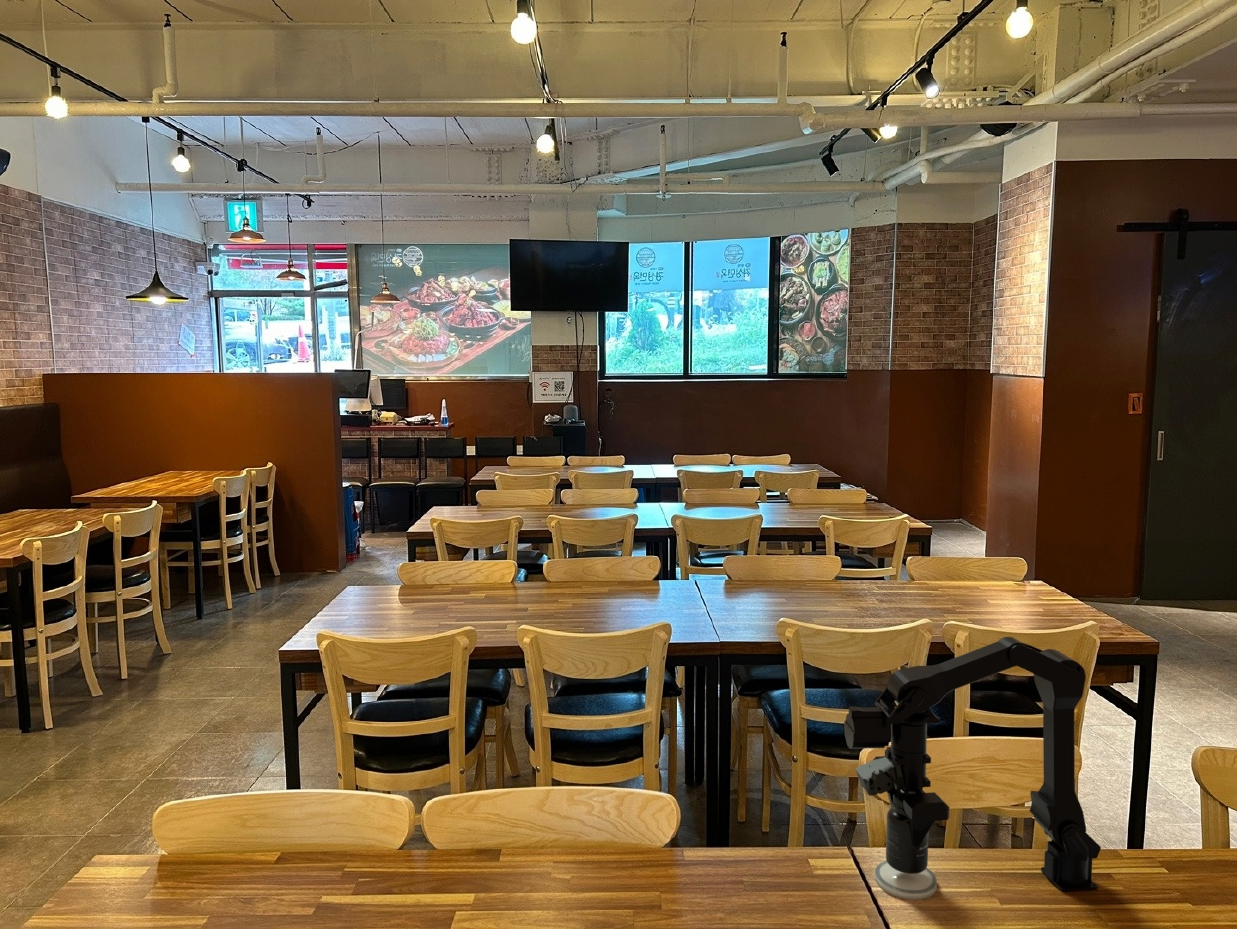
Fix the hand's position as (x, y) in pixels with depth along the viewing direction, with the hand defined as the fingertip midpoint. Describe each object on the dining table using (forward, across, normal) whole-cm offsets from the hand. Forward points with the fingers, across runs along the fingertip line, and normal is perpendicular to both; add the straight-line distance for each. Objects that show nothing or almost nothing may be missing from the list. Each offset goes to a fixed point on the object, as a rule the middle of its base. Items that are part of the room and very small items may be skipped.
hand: (907, 835), depth 146 cm
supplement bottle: (+5, 0, 0) cm, 5 cm away
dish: (+8, 0, 0) cm, 9 cm away
